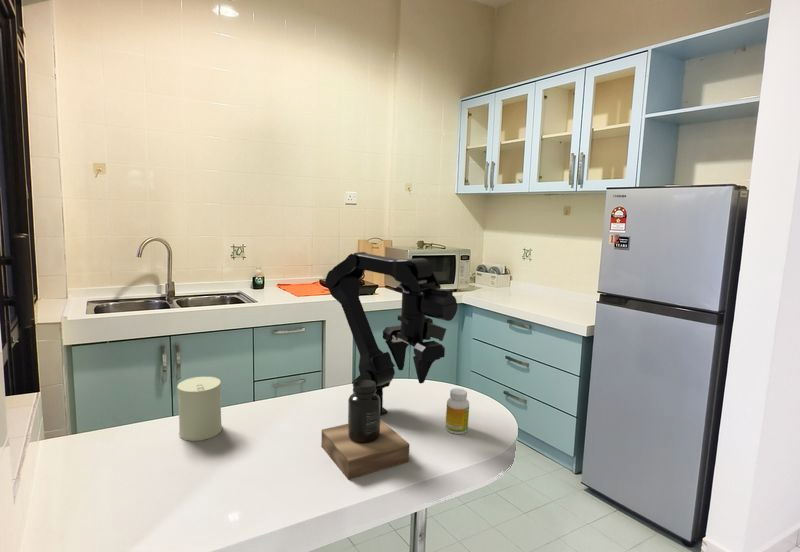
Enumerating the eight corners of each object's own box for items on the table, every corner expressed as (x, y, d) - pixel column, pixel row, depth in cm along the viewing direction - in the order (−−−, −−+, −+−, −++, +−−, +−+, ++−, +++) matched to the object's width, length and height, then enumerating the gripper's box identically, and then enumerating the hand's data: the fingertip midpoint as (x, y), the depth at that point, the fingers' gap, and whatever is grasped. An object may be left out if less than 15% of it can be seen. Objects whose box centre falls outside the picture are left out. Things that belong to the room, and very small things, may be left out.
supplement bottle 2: (466, 436, 113) (469, 397, 111) (444, 433, 114) (446, 394, 112) (468, 425, 118) (470, 388, 117) (446, 422, 119) (448, 385, 118)
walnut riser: (321, 446, 106) (321, 429, 105) (377, 432, 113) (377, 416, 112) (348, 479, 94) (348, 460, 93) (408, 461, 101) (409, 444, 100)
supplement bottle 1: (378, 428, 106) (380, 377, 104) (380, 444, 100) (382, 389, 98) (347, 428, 106) (348, 377, 104) (347, 444, 99) (348, 389, 97)
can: (180, 444, 104) (178, 392, 102) (177, 426, 112) (175, 377, 110) (224, 436, 108) (223, 386, 107) (219, 419, 117) (218, 372, 115)
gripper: (466, 318, 108) (461, 384, 110) (420, 301, 123) (417, 359, 126) (424, 323, 102) (421, 392, 104) (382, 305, 118) (380, 365, 120)
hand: (410, 376), depth 114 cm, fingers open, 9 cm apart
